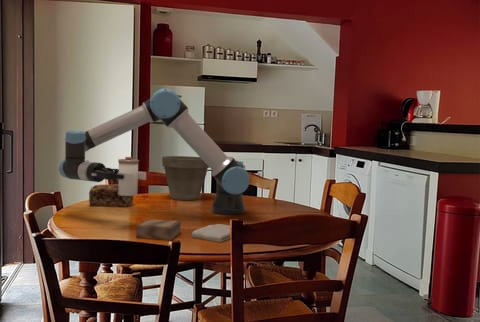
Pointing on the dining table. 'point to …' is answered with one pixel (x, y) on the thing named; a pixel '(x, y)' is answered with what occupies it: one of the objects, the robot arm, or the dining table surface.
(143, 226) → the base block
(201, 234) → the washcloth
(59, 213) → the dining table surface
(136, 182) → the canister
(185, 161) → the plant pot
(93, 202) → the bread
